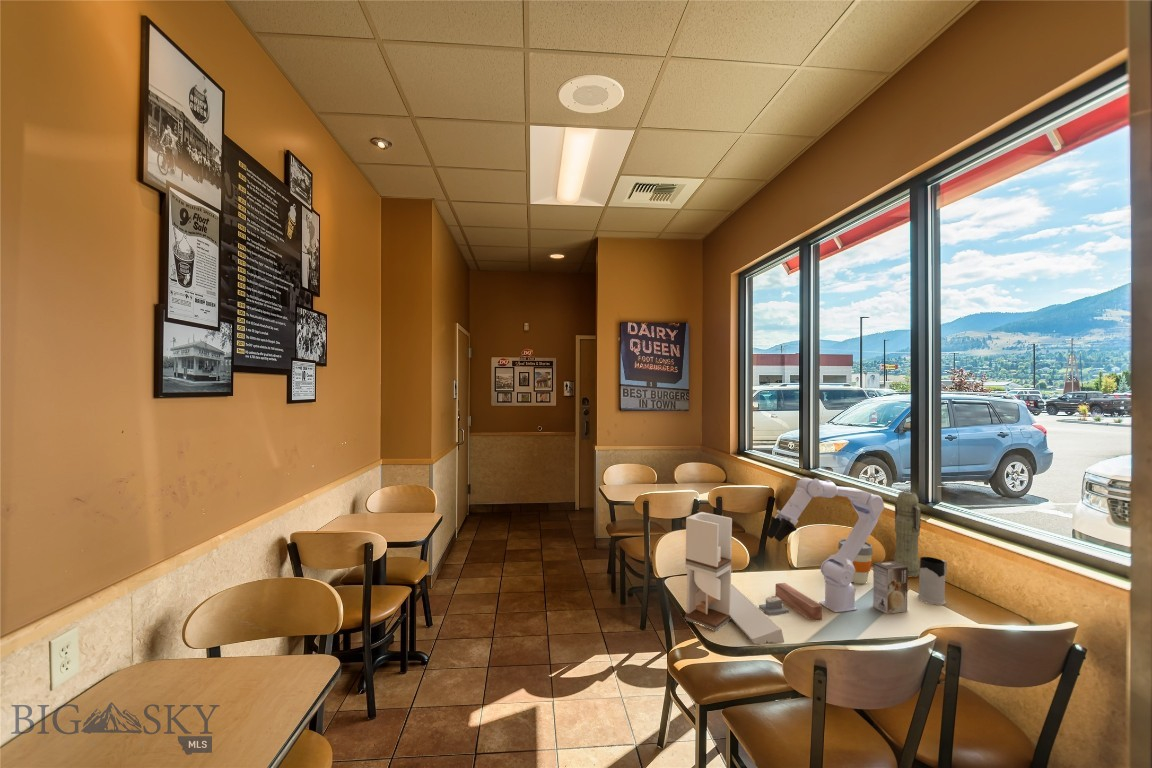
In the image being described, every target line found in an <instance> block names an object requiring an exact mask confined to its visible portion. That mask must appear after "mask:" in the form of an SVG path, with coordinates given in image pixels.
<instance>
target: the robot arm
mask: <svg viewBox="0 0 1152 768" xmlns="http://www.w3.org/2000/svg"><path fill="white" fill-rule="evenodd" d="M795 485H796V486H795V488H794V492H793V494H791V496H790V498H789V499H788V500H787V502H786V503H785V505H784V506H783V507H782V509H781V510H779V509H777V510H776V513H777V514H776V515H775V516H770V523H769V526H768V529H767V532H766V533H765V534H766V535H765V536H767V537H768V538H769V539H773V538H774V539H775V540H776V541H778V542H781V541H783V540H784V539H785V538H786V537H787V536H788V535H790V534H791V533H793V532H796V531H797V530H798V528H796V527H795V526H797V524H798V523H799V520H798V519H799V517H800V516H801V514H802V513H803V512H804V510H805V509H806V507H807V506H808V505H809V503H810V501H811V500H812V498H817V497H821V498H828V499H829V498H830V499H832V498H834V497H836V496H839V497H845V498H847V499H848V500H850V501H849V502H850V504H851V505H852V507H853V510H855V512H856V513H857V516H858V519H857V521H856V523H855V525H854V526H853V528H852V529H851V530H850V533H849V534H848V536H847V537H846V538H845V539H846V540H845V542H844V544H843V545H842V547H841V548H840V550H839V549H838V552H837V553H835V554H831V555H829V557H828V558H827V559H825V560H824V561H823V562H822V564H820V565H821V566H820V572H821V574H822V576H823V579H824V583H825V585H824V600H821V601H818V602H819V603H818V604H820V605H821V606H823V607H825V608H827V609H828V610H830V611H832V612H834V613H840V612H842V613H843V612H849V611H856V610H857V609H858V608H857V607H855V606H856V604H855V603H856V590H855V587H854V586H853V583H851V582H852V579H853V575H854V573H855V568H854V566H853V561H854V560H855V558H856V556H857V555H858V553H859V551H860V550H861V548H862V547H863V545H864V543H865V542H867V540H868V539H869V537H870V535H871V534H872V532H873V530H874V529H875V527H876V526H877V524H878V521H879V517H880V515H881V514H882V512H883V511H884V509H885V505H884V504H885V503H884V499H883V498H882V497H881V496H880V495H878V494H873V493H871V492H869V491H865V490H862V489H859V488H855V487H848V486H838V485H836V484H835V482H833V481H832V480H830V479H825V480H821V479H819V478H817V477H816V478H814V479H812V478H809V477H802V478H800V479H797V482H796V483H795Z"/></svg>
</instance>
